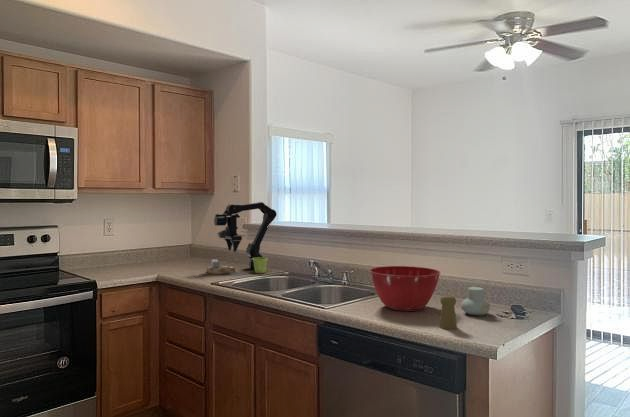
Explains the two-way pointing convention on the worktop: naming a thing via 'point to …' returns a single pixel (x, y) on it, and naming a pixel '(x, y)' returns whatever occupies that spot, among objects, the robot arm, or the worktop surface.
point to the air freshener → (475, 302)
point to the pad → (237, 273)
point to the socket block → (221, 270)
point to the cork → (448, 312)
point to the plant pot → (260, 264)
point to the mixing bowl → (404, 286)
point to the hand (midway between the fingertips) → (232, 251)
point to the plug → (214, 264)
